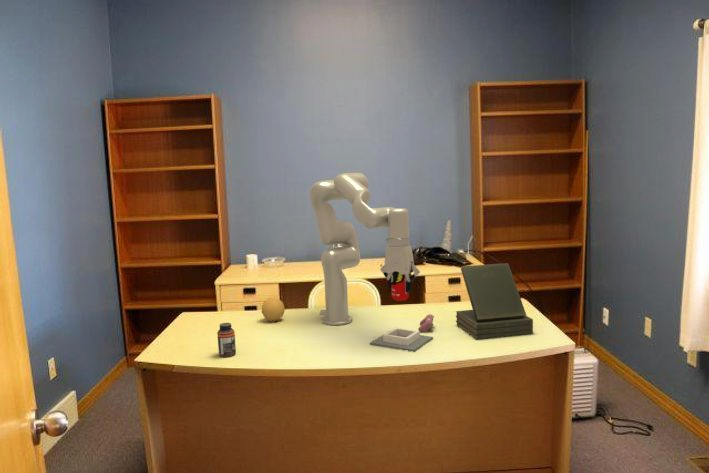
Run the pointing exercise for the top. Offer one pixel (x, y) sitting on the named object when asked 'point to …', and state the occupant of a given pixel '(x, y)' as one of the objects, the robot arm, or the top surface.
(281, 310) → the stress ball
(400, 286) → the beverage can
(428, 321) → the video game controller
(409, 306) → the top surface
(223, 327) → the supplement bottle
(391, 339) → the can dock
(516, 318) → the dark grey slab stack
